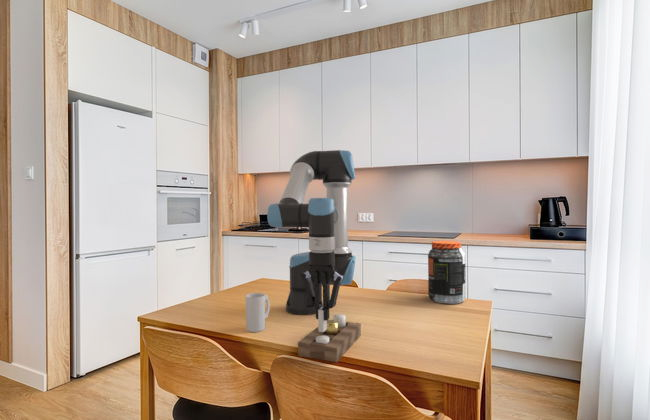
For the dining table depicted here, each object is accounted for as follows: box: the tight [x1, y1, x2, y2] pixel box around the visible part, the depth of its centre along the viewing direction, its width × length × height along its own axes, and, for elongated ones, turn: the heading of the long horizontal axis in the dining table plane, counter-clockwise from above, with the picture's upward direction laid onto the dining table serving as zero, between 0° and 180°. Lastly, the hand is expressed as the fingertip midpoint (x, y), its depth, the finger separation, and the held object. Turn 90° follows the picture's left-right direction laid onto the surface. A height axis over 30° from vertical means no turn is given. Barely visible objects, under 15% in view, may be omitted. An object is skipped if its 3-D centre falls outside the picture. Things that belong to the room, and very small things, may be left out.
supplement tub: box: [427, 240, 467, 305], centre depth 168 cm, size 16×16×26 cm
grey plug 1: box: [316, 335, 329, 344], centre depth 111 cm, size 4×4×4 cm
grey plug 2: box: [332, 313, 347, 328], centre depth 124 cm, size 4×4×4 cm
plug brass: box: [325, 321, 338, 336], centre depth 118 cm, size 4×4×4 cm
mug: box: [245, 292, 271, 333], centre depth 134 cm, size 10×7×12 cm, turn 142°
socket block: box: [297, 319, 362, 363], centre depth 118 cm, size 22×12×4 cm, turn 157°
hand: (322, 330), depth 112 cm, fingers closed
